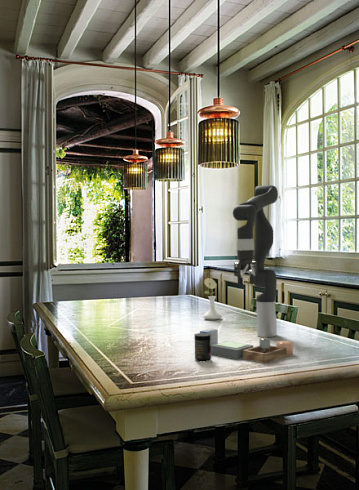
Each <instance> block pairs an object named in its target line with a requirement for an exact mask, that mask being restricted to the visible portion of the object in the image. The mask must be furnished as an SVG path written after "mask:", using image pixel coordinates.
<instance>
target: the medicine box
mask: <svg viewBox="0 0 359 490" xmlns="http://www.w3.org/2000/svg"><path fill="white" fill-rule="evenodd" d="M199 333H209V334H211V345H214V344H218V343H219V339H218V329H215V328H207V329H202V330H199Z"/></svg>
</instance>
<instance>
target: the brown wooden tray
mask: <svg viewBox="0 0 359 490" xmlns="http://www.w3.org/2000/svg"><path fill="white" fill-rule="evenodd" d="M286 357H287V356H286V348H280V347H276V345H271V344H270V352H268V353H260V352H259V345H256V346H253V347H252V348H249V349H245V350H243V358H242V360H248V361H253V362H258V363H262V364H267V363H270V362H273V361H277V360H280V359H283V358H286Z"/></svg>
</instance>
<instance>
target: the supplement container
mask: <svg viewBox="0 0 359 490" xmlns="http://www.w3.org/2000/svg"><path fill="white" fill-rule="evenodd" d="M194 360H195V361H197V362H200V361H202V362H203V361H205V362H209V360H210V361H211V360H212V354H211V334H209V333H200V332H199V333H195V334H194ZM203 363H204V362H203Z"/></svg>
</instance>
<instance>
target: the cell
mask: <svg viewBox="0 0 359 490" xmlns="http://www.w3.org/2000/svg"><path fill="white" fill-rule="evenodd" d="M258 344H259V345H258V346H259V352H260V353H268V352H270V345H271V338H270V337H261V338H259V343H258Z"/></svg>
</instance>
